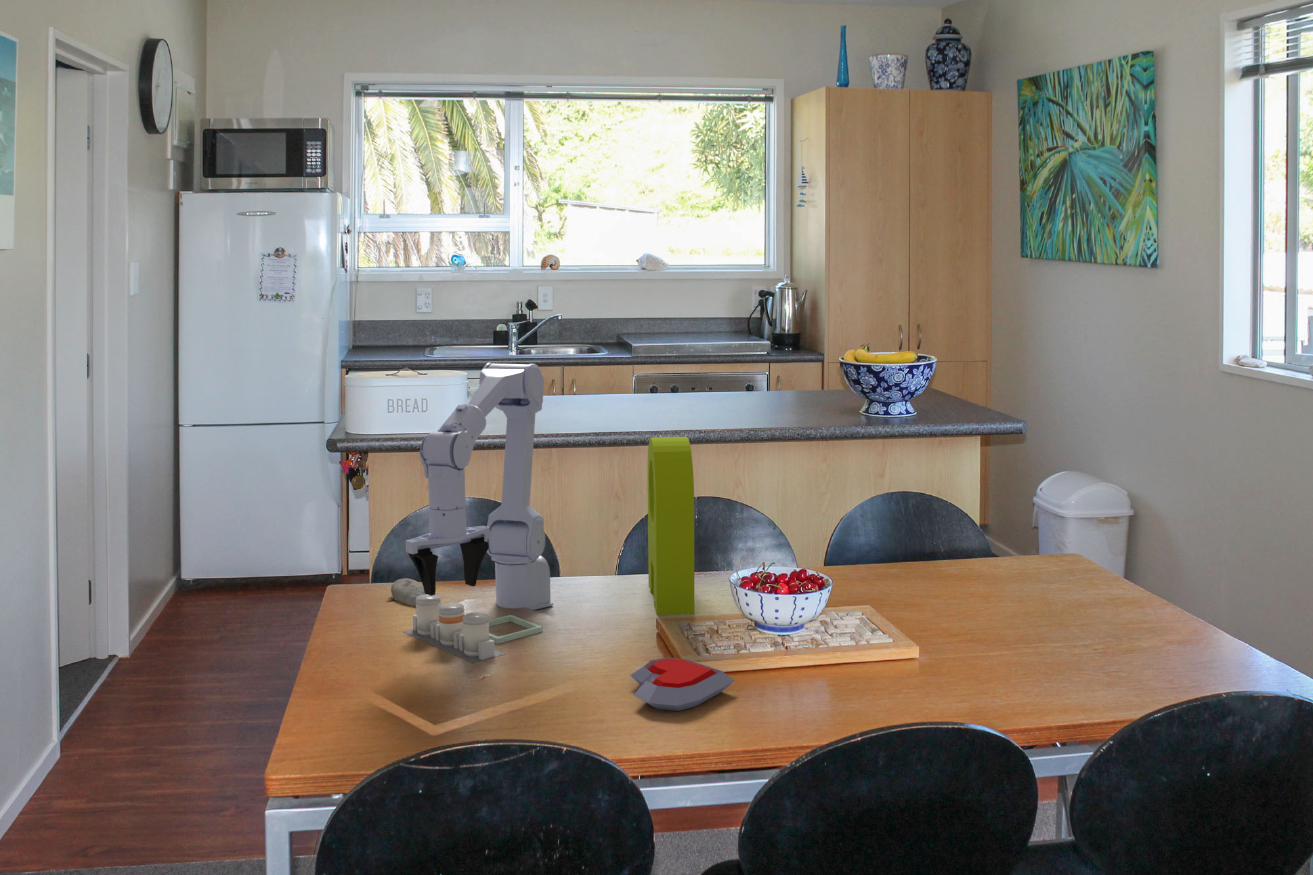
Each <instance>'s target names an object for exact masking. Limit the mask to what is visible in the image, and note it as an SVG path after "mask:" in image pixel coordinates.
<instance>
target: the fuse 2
mask: <svg viewBox="0 0 1313 875" xmlns="http://www.w3.org/2000/svg"><path fill="white" fill-rule="evenodd" d="M489 620H490V618H489V614H488V613H486V612H469V613H466V614H465V613H464V616H463V639H464V655H465V656H468V657H479V654H478V643H480V642H484V641H487V640H489V633H490V627H489Z"/></svg>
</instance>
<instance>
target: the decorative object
mask: <svg viewBox="0 0 1313 875" xmlns="http://www.w3.org/2000/svg"><path fill="white" fill-rule="evenodd" d="M690 443H691V442H690V440H689V437H688V436H663V437H654V436H653V437H649V441H648V447H647V448H648V449H647V450H648V451H647V541H648V542H647V544H648V546H647V553H648V556H647V557H648V558H647V559H648V566H647V567H648V571H647V572H648V586H649V587H648V588H649V590H650V594H653V605H654V610H655V614H656V616H675V615H678V614H683V615H695V612H696V611H695V610H696V609H695V604H696V603H695V486H694V485H695V484H694V483H695V481H694V467H693V465H694V464H693V456H692V448H691V444H690ZM678 616H679V615H678Z"/></svg>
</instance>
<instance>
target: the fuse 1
mask: <svg viewBox="0 0 1313 875" xmlns="http://www.w3.org/2000/svg"><path fill="white" fill-rule="evenodd" d="M441 602H442V600H441V595H439V594H436V593H435V595H433V596H430V595H428V594H425V595H420V596H418V597H416V607H415V609H416V614H417V634H418V635H420V636H431V633H430V623H431V622H435V621H439V606H440V605H442V603H441ZM416 614H415V615H416Z"/></svg>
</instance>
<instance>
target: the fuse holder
mask: <svg viewBox="0 0 1313 875" xmlns="http://www.w3.org/2000/svg"><path fill="white" fill-rule="evenodd" d="M402 632H403V633H404V634H406V635H409V636H412V637H414V638H415V639H418V640H421V641H422V642H424V643H427V644H429V645H431V646H433V647H436V648H438V649H440V650H442V651H444V652H447V653H449V654H451V655H454V656H456V657H458V658H460V659H463V660H465V661H467V662H469V663H471V664H476V663H479V662H483V661H486V660H490V659H494V658H498V657H500V656H505V655H506V653H504V652H502V651H499V650H497V649H496V648H495V642H494V640H487V641H484V642H480V643H478V654H479V657H468V656H465V655H464V639H463V630H461V631H457V632H454V633H453V634H454V646H452V647H448V646H443V645H441V644H440V630H439V621H435V622H431V623H430V633H431V636H420V635H418V634H417V614H412V629H409V630H408V629H407V630H404V631H402Z"/></svg>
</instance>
